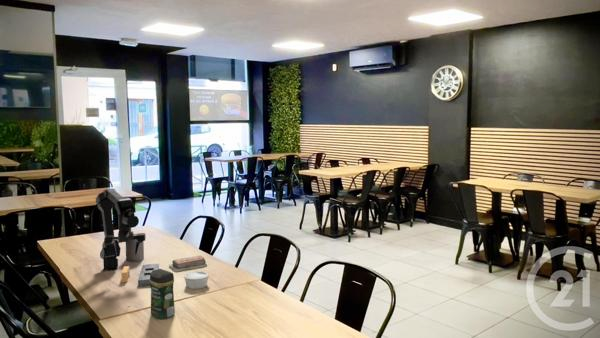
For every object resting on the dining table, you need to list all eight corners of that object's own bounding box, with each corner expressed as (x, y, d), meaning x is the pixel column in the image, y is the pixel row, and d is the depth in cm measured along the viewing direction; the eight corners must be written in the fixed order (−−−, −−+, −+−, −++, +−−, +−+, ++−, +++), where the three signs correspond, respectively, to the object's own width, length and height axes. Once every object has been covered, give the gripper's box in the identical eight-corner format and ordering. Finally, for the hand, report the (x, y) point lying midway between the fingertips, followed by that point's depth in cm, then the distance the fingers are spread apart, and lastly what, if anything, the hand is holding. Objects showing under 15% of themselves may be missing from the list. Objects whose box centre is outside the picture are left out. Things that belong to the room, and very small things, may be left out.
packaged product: (200, 253, 259) (207, 258, 251) (200, 262, 259) (207, 266, 251) (168, 258, 249) (174, 263, 241) (168, 267, 249) (174, 272, 241)
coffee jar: (147, 315, 188) (146, 270, 186) (164, 308, 194) (163, 265, 192) (161, 321, 182) (160, 275, 180) (178, 315, 188) (177, 270, 186)
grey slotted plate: (155, 285, 222) (155, 279, 222) (138, 286, 220) (138, 280, 220) (158, 269, 245) (158, 263, 245) (142, 270, 243) (142, 264, 243)
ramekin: (212, 283, 225) (212, 272, 224) (200, 291, 214) (200, 280, 214) (192, 280, 229) (192, 270, 228) (179, 288, 218) (179, 277, 218)
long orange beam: (121, 282, 225) (121, 272, 224) (124, 275, 235) (124, 266, 234) (127, 282, 226) (126, 272, 225) (129, 275, 235) (129, 265, 235)
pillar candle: (122, 260, 260) (121, 234, 258) (134, 255, 269) (133, 230, 267) (135, 263, 256) (135, 236, 254) (147, 258, 265) (147, 232, 263)
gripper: (101, 228, 217) (103, 261, 219) (143, 226, 222) (144, 258, 224) (105, 223, 228) (106, 255, 229) (145, 221, 233) (146, 252, 234)
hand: (126, 255), depth 229 cm, fingers open, 9 cm apart
